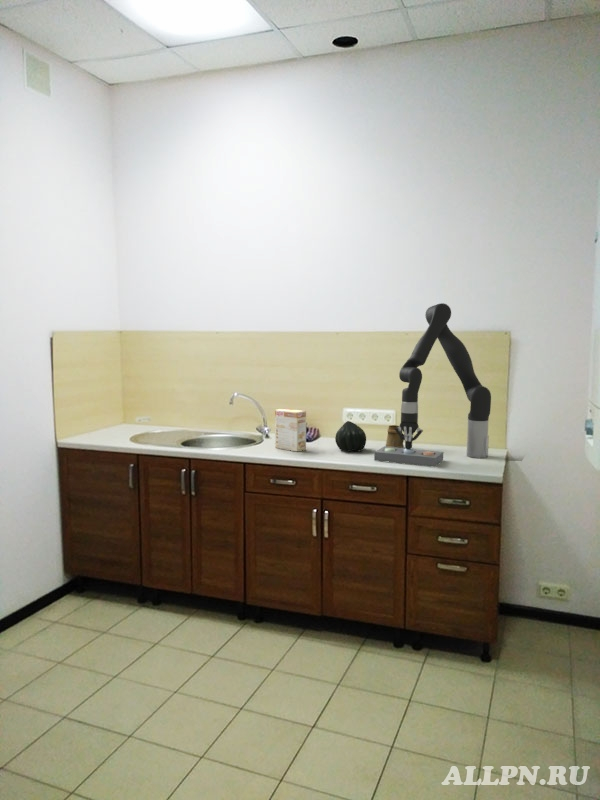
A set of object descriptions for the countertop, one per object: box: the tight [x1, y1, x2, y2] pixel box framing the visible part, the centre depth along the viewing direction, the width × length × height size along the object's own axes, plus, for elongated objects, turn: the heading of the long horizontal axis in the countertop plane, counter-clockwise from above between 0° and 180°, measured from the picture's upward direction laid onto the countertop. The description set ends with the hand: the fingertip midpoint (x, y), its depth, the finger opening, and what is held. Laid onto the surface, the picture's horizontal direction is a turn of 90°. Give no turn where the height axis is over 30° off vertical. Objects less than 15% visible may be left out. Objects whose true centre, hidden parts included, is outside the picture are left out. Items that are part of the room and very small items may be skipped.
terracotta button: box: [423, 452, 434, 456], centre depth 275 cm, size 5×5×3 cm
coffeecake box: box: [274, 408, 307, 452], centre depth 304 cm, size 15×7×20 cm, turn 48°
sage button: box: [385, 448, 395, 452], centre depth 283 cm, size 5×5×3 cm
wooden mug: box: [385, 424, 405, 448], centre depth 304 cm, size 9×14×18 cm, turn 62°
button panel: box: [373, 445, 444, 467], centre depth 279 cm, size 28×14×4 cm, turn 63°
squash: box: [335, 420, 367, 452], centre depth 301 cm, size 14×15×15 cm
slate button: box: [404, 447, 415, 454], centre depth 279 cm, size 5×5×3 cm
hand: (408, 449), depth 279 cm, fingers closed
